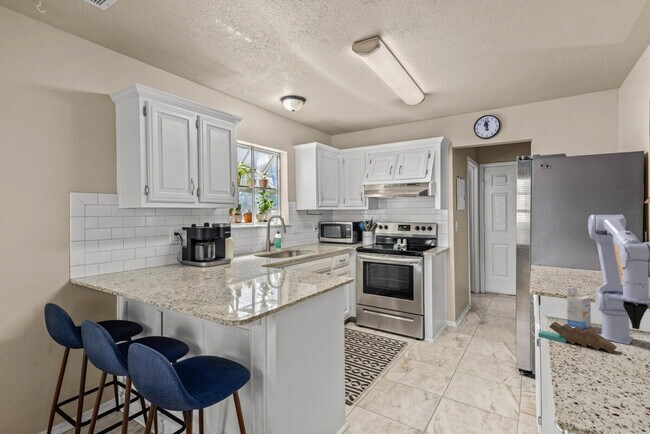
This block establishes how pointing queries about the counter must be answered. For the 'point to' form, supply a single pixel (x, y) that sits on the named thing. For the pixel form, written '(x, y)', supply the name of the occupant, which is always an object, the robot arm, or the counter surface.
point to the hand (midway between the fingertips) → (635, 328)
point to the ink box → (578, 309)
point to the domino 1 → (552, 336)
